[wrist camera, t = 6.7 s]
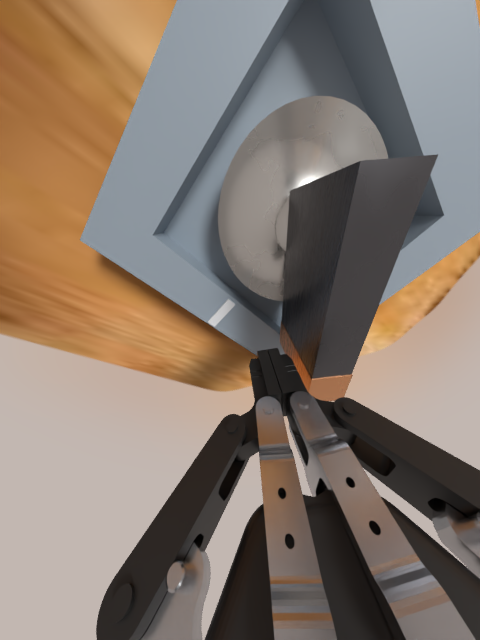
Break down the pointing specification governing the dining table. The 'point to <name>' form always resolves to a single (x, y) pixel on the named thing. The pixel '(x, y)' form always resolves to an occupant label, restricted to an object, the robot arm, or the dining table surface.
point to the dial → (319, 228)
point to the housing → (261, 100)
